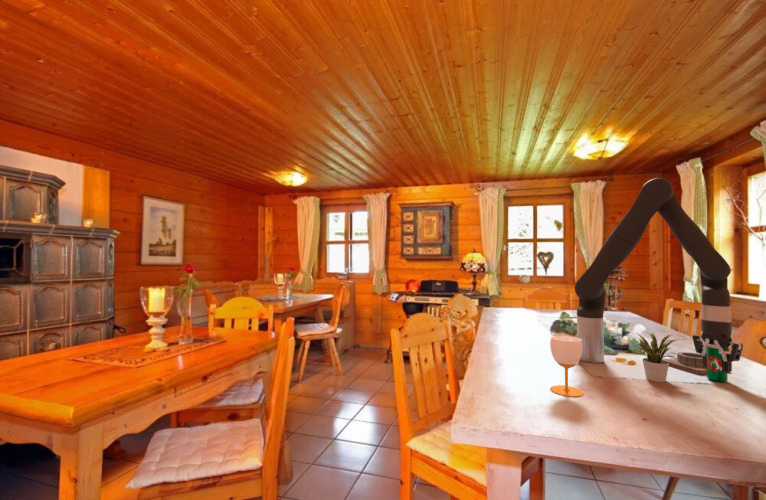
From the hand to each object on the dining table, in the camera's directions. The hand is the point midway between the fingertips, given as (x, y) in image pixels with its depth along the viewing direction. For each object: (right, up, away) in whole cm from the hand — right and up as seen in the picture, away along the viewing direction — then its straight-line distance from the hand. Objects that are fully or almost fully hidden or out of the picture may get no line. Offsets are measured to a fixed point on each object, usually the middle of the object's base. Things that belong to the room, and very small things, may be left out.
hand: (716, 369), depth 119 cm
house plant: (-18, -4, 0) cm, 19 cm away
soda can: (0, -4, 0) cm, 4 cm away
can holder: (+4, -4, +14) cm, 15 cm away
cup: (-55, -3, -10) cm, 56 cm away
